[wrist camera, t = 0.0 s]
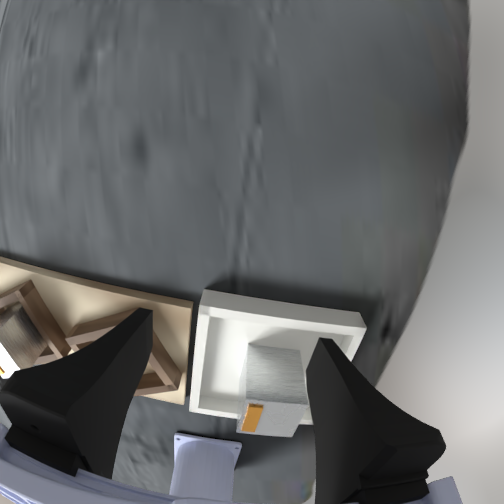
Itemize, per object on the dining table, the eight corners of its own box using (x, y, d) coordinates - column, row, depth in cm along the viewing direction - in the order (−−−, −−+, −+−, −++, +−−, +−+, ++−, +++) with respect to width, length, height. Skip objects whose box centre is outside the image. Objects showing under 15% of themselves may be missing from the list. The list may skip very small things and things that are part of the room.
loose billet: (286, 384, 27) (292, 438, 21) (239, 379, 26) (236, 434, 21) (299, 350, 25) (309, 406, 19) (247, 343, 25) (245, 401, 19)
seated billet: (54, 335, 25) (24, 377, 19) (30, 341, 25) (1, 379, 20) (30, 298, 23) (-7, 336, 17) (8, 307, 24) (-26, 342, 18)
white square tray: (314, 408, 29) (316, 424, 27) (192, 394, 28) (189, 411, 26) (359, 312, 24) (366, 328, 22) (203, 288, 23) (199, 304, 21)
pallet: (185, 397, 29) (180, 420, 26) (12, 344, 27) (-1, 359, 24) (193, 301, 24) (186, 324, 21) (-11, 253, 23) (-29, 265, 20)
